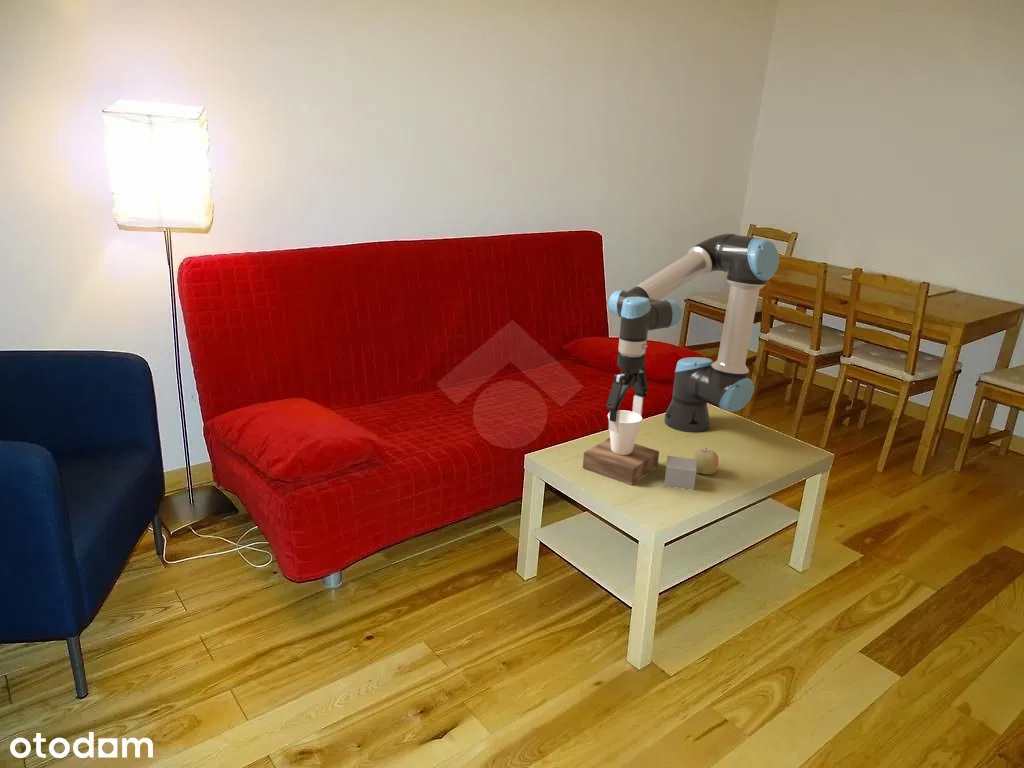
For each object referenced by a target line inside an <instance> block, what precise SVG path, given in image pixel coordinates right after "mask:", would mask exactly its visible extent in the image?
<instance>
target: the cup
mask: <svg viewBox="0 0 1024 768" xmlns="http://www.w3.org/2000/svg"><path fill="white" fill-rule="evenodd" d="M619 410H620V409H619ZM607 418H608V420H609V419H610V412H608V414H607ZM642 421H643V417H642V416H641V415H639V414H638V413H635V412H632V411H631V410H625V409H624V410H623V409H622V410H620V418H619V430H618V432H617V433H616V432H613V431H610V430H609V438H610V441H611V450H612V451H613V452H614V453H615V454H618V455H629V454H630V453H632V451H633V447H634V444H636V440H637V436H638V433H639V431H640V430H639V429H640V427H641V422H642Z"/></svg>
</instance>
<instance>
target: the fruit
mask: <svg viewBox="0 0 1024 768" xmlns="http://www.w3.org/2000/svg"><path fill="white" fill-rule="evenodd" d="M691 459H696V473H698V474H703V475H711V474H713V473H715V472H716V470H717V468H718V466H719V456H718V454H717V453H716V452H715V451H713V450H711V449H708V448H707V447H705V449H699V450H697V451H695V452H694V454H693V456H692V458H691Z"/></svg>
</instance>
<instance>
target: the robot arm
mask: <svg viewBox="0 0 1024 768" xmlns="http://www.w3.org/2000/svg"><path fill="white" fill-rule="evenodd" d="M687 251H688V252H687V254H686V255H684V256H682V257H680V258H679V259H678V260H677V259H676V261H674V262H672V263H671V264H670V265H668V266H666V267H665V268H663V269H661V270H659V271H658V272H657V273H655V274H653V275H651V276H650V277H648V278H646V280H643V281H642V282H641V283H639V284H637V285H636V286H634V287H632V288H630V289H629V290H628V291H627V290H615V291H614V292H613V293H611V295H610V297H608V298H609V299H608V301H607V303H608V310H609V311H610V313H611V314H613V315H615V316H618V317H620V327H619V340H618V347H617V348H618V350H617V351H618V353H617V360H616V361H617V363H616V365H617V367H618V368H620V369H621V370H620V373H619V374H617V373H615V374H614V375H613V383H612V386H611V389H610V392H609V395H608V399H607V403H606V406H605V409H606V410H608V411H609V413H610V419H609V418H608V431H609V432H610V431H613V432H616V433H617V432H618V430H619V418H620V408H621V405H622V402H623V401H624V399H625V395H626V393H627V391H629V390H630V388H631V387H632V389H633V391H634V393H635V395H633V401H632V412H635V413H638V414H639V415H641V416H642V415H643V405H644V404H643V403H644V398H647V397H648V391H649V387H648V382H647V375H646V365H645V363H646V355H645V354H646V349H647V348H648V344H647V341H648V333H649V332H648V331H653V330H660V329H668V328H671V327H673V326H674V327H675V326H677V324H678V323H679V322H680V321H681V319H682V315H683V314H682V308H681V305H680V304H679V303H678V302H677V301H676V300H672V299H665V298H666V297H668V296H669V295H671V294H673V293H674V292H676V291H677V290H679V289H680V288H682V287H684V286H685V285H686V284H688V283H690V282H692V281H693V280H695V279H696V278H698V277H699V276H700V275H701V276H706V275H708V274H710V273H712V272H725V273H727V274H726V282H727V283H728V284H729V286H730V287H729V293H728V299H727V303H726V310H725V315H724V321H723V327H722V331H721V339H720V343H719V349H718V355H717V360H715V361H713V359H711V358H707V357H699V356H698V357H697V356H696V357H695V356H692V357H684V358H683V357H682V358H681V359H679V360H678V361H677V363H676V367H675V370H674V377H673V378H674V379H673V389H672V398H671V401H670V404H669V406H668V408H667V409H666V412H665V414H664V420H663V421H664V423H665V425H666V426H668V427H670V428H672V429H675V430H677V431H682V432H683V431H684V432H689V433H690V432H691V433H695V432H697V433H699V432H704V431H706V430H708V429H709V428H710V424H711V418H710V414H709V413H710V411H709V407H708V405H709V404H710V405H712V406H715V407H717V408H719V409H720V410H724V411H728V412H733V413H735V412H738V411H741V410H742V409H744V407H745V406H747V405H748V403H749V402H750V401H751V399H752V396H753V394H754V391H755V385H754V384H755V383H754V381H753V380H752V379H751V378H749V375H750V374H749V373H750V370H749V368H748V367H747V365H746V362H747V356H748V352H749V347H750V342H751V335H752V331H753V327H754V326H753V324H754V320H755V315H756V310H757V305H758V299H759V294H760V290H761V289H763V287H765V286H766V285H767V281H768V280H771V279H772V278H773V277H774V276H775V273H776V272H777V271H778V268H779V263H780V259H779V258H780V257H779V256H780V255H779V252H778V249H777V248H776V245H775V244H774V243H773V242H772V241H771V240H768V239H764V238H761V237H753V236H749V235H748V236H746V235H740V234H734V233H723V234H722V233H721V234H719V235H714V236H713V237H710V238H707V239H704V240H703V241H700V242H699V243H697V244H695V245H694V246H692V247H690V249H688V250H687Z"/></svg>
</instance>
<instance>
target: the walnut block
mask: <svg viewBox="0 0 1024 768" xmlns="http://www.w3.org/2000/svg"><path fill="white" fill-rule="evenodd" d="M659 456H660V450H656V449H653V448H650V447H647V446H644V445H641V444H638V443H635V444H634V447H633V451H632V453H630V454H629V455H618V454H615V453H614V452H613V451H612V450H611V441H610V437H609V438H606V439H604V440H603V441H601V442H600V443H598V444H596V445H595V446H592V447H591V448H590V449H588V450H586V451H584V452H583V461H582V469H583V468H584V470H586V469H587V471H589V472H592V473H595V474H598V475H600V476H604V477H607V478H608V479H609V478H610V479H613V480H615V481H618V482H621V483H624V484H627V485H628V486H629V485H630V486H633V485H634V484H635V483H637V482H638V481H639V479H640V480H641V479H642V478H644V477H645V476H647V475H648V474H649V473H650V472H652V471H654V470H655V469H656V468H658V466H659V465H658V464H659V459H660V457H659ZM646 474H647V475H646Z"/></svg>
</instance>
